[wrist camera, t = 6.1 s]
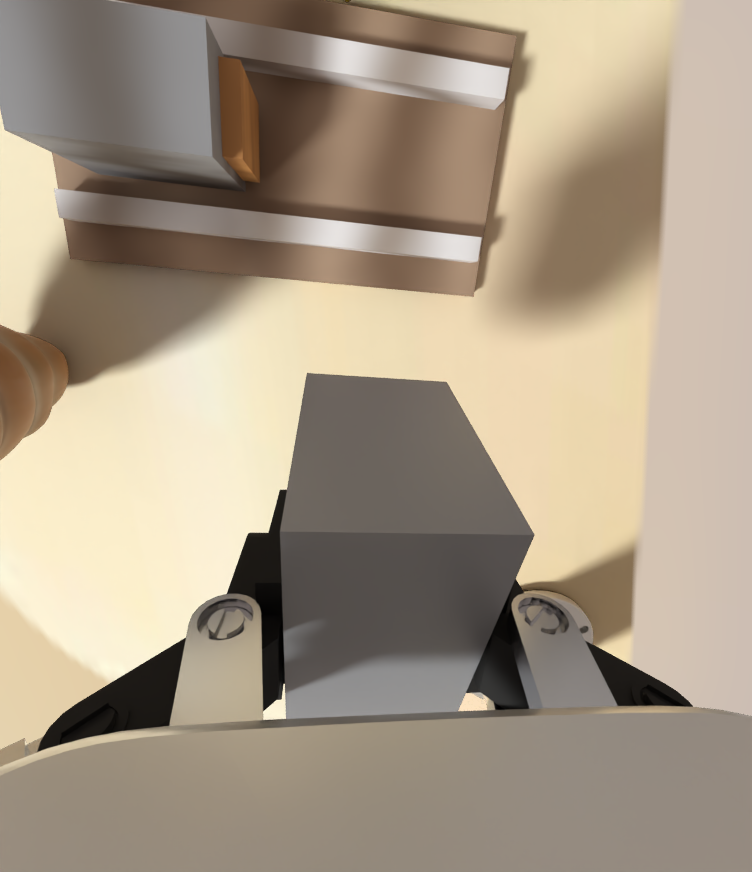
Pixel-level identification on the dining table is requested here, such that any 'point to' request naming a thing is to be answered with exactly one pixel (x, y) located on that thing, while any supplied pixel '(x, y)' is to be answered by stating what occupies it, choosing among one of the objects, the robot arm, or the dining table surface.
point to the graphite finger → (390, 549)
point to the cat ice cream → (27, 385)
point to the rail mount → (262, 135)
